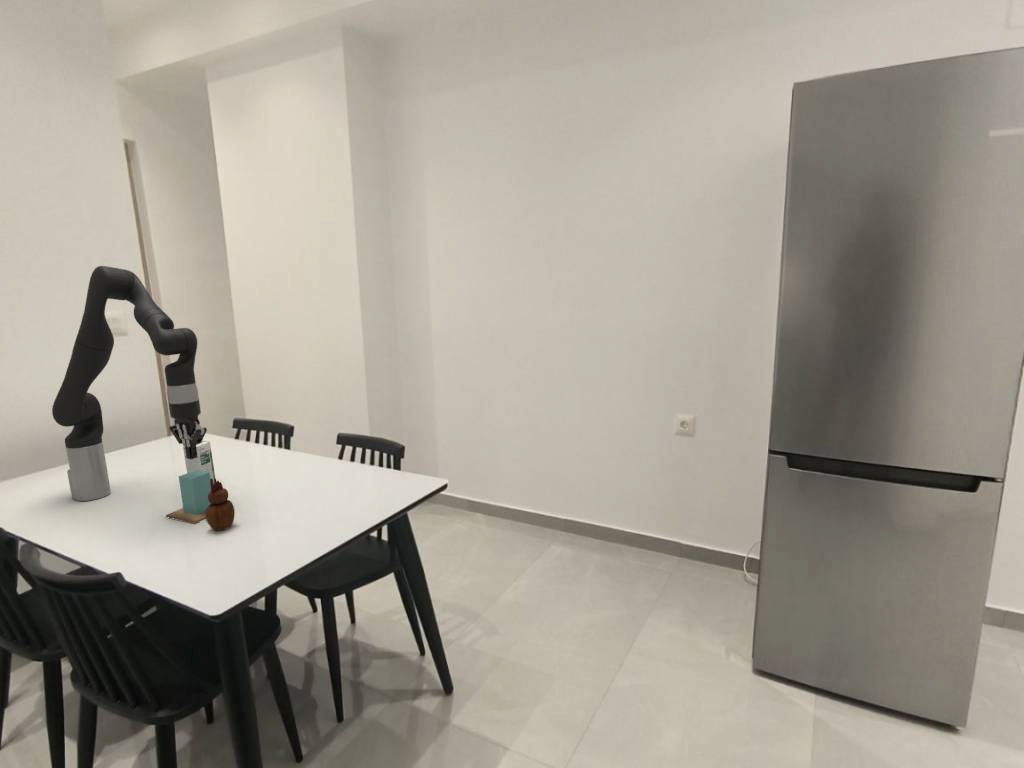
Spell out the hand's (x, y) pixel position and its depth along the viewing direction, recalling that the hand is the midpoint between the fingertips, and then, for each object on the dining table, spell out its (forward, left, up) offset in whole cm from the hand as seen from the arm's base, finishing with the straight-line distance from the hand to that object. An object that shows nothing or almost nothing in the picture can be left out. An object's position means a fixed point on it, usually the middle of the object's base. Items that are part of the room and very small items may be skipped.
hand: (192, 458), depth 161 cm
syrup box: (-13, +22, -17) cm, 31 cm away
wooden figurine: (+13, -10, -17) cm, 24 cm away
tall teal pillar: (0, 0, -16) cm, 16 cm away
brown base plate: (0, 0, -17) cm, 17 cm away
